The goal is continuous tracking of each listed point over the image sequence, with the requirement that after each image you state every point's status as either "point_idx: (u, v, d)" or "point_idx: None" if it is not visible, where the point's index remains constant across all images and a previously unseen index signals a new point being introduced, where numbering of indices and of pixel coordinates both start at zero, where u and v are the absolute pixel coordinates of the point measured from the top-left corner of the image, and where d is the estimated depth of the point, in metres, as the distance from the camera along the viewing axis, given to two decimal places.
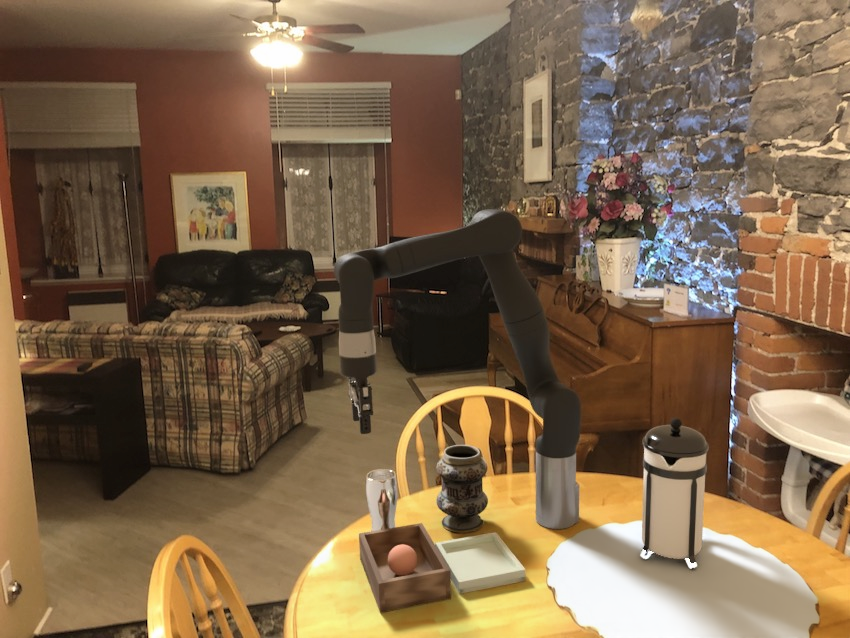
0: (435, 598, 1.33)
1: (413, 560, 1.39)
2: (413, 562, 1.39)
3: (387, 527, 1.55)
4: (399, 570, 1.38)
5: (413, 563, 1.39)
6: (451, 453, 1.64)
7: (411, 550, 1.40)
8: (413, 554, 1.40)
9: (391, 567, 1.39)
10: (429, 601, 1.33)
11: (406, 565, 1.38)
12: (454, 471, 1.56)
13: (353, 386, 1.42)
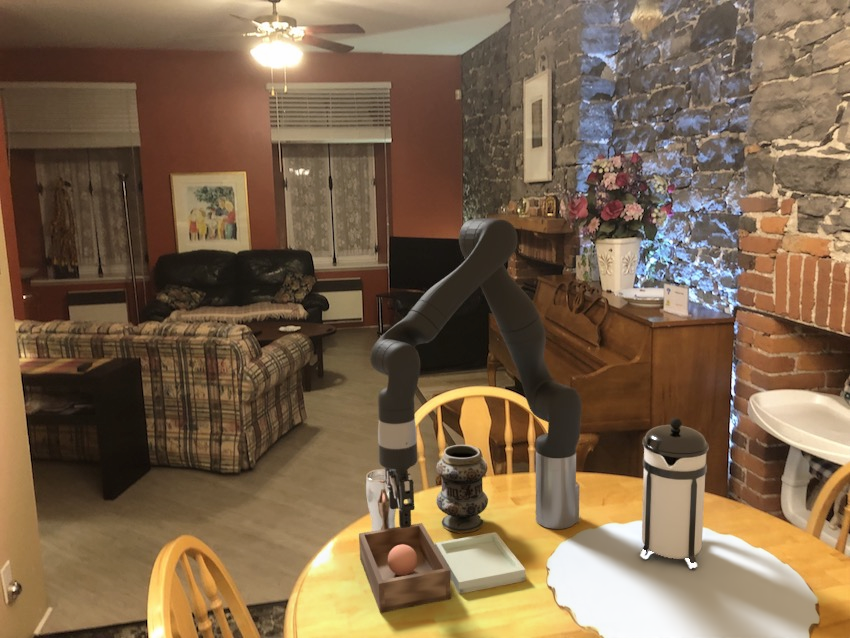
0: (435, 598, 1.33)
1: (413, 560, 1.39)
2: (413, 562, 1.39)
3: (387, 527, 1.55)
4: (399, 570, 1.38)
5: (413, 563, 1.39)
6: (451, 453, 1.64)
7: (411, 550, 1.40)
8: (413, 554, 1.40)
9: (391, 567, 1.39)
10: (429, 601, 1.33)
11: (406, 565, 1.38)
12: (454, 471, 1.56)
13: (392, 477, 1.35)
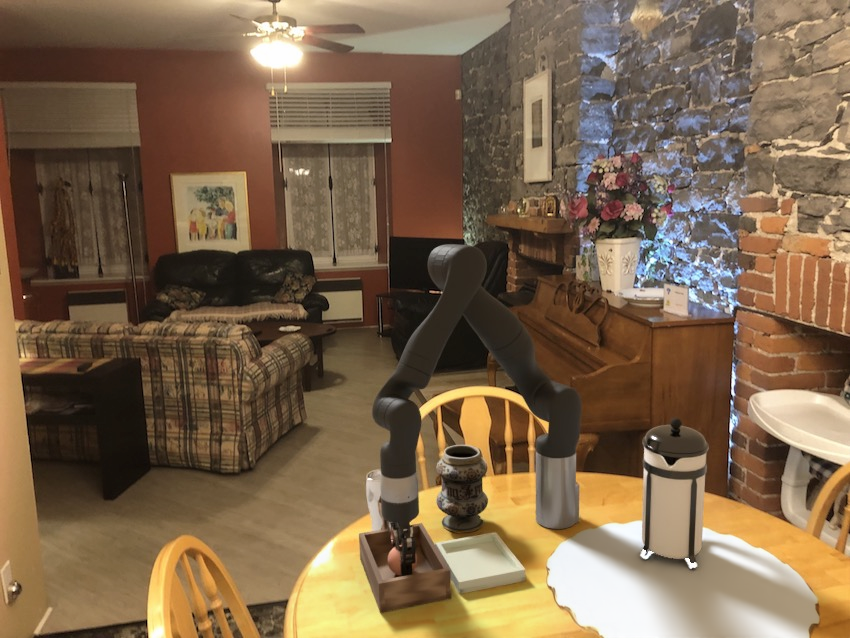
0: (435, 598, 1.33)
1: None
2: None
3: (387, 527, 1.55)
4: (399, 570, 1.38)
5: None
6: (451, 453, 1.64)
7: None
8: None
9: (391, 567, 1.39)
10: (429, 601, 1.33)
11: None
12: (454, 471, 1.56)
13: (395, 530, 1.37)
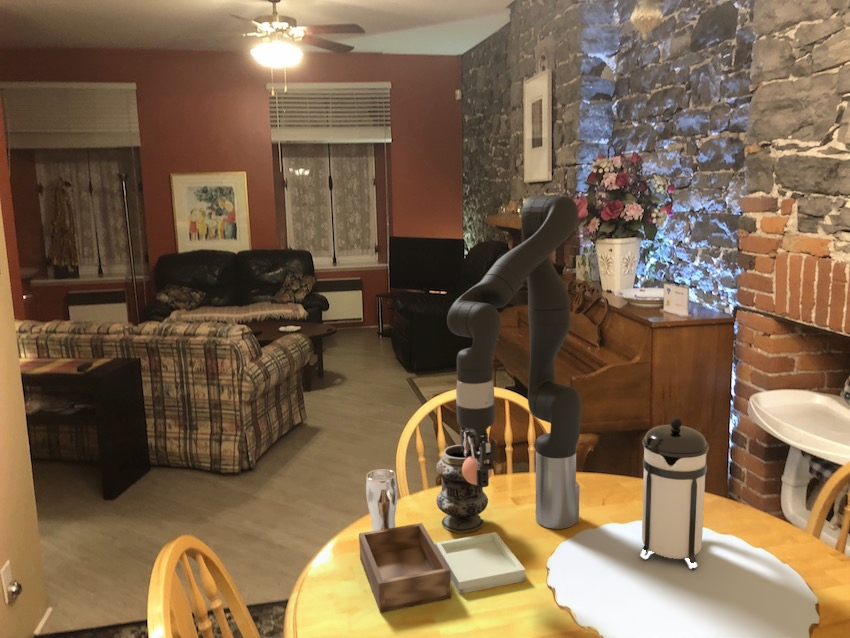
0: (435, 598, 1.33)
1: None
2: (488, 470, 1.39)
3: (387, 527, 1.55)
4: (474, 478, 1.38)
5: (488, 471, 1.39)
6: (451, 453, 1.64)
7: None
8: None
9: (466, 476, 1.39)
10: (429, 601, 1.33)
11: None
12: (454, 471, 1.56)
13: (471, 437, 1.37)
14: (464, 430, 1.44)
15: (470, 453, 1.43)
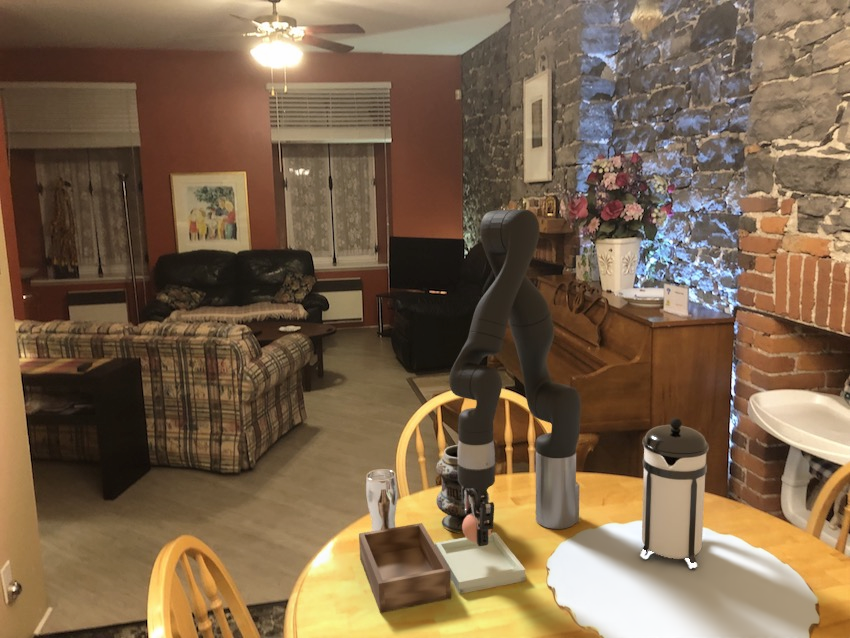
0: (435, 598, 1.33)
1: None
2: None
3: (387, 527, 1.55)
4: (474, 537, 1.40)
5: (488, 530, 1.41)
6: (451, 453, 1.64)
7: None
8: None
9: (466, 534, 1.41)
10: (429, 601, 1.33)
11: None
12: (454, 471, 1.56)
13: (472, 497, 1.40)
14: (465, 487, 1.46)
15: (470, 510, 1.45)
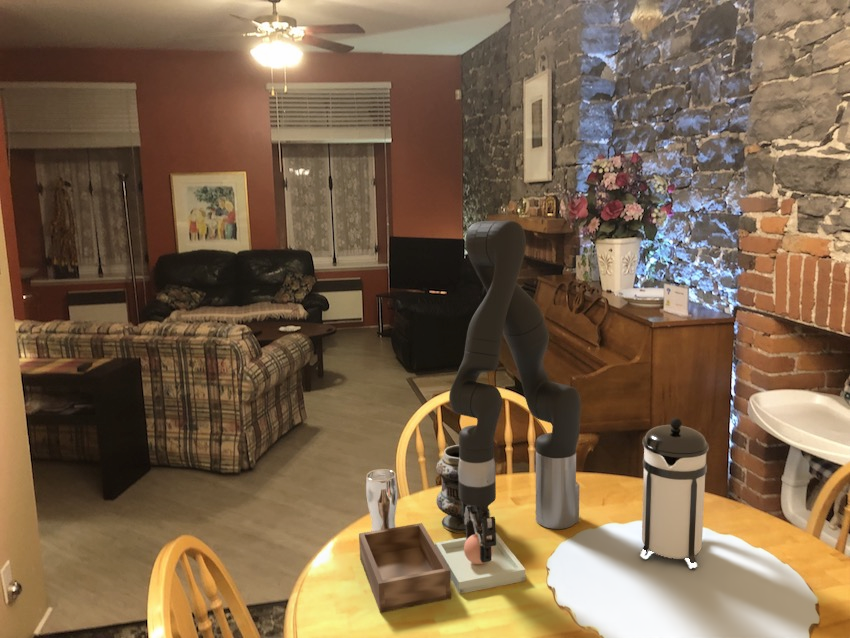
0: (435, 598, 1.33)
1: None
2: None
3: (387, 527, 1.55)
4: (476, 559, 1.41)
5: None
6: (451, 453, 1.64)
7: None
8: None
9: (468, 556, 1.42)
10: (429, 601, 1.33)
11: None
12: (454, 471, 1.56)
13: (473, 513, 1.40)
14: None
15: (470, 521, 1.47)
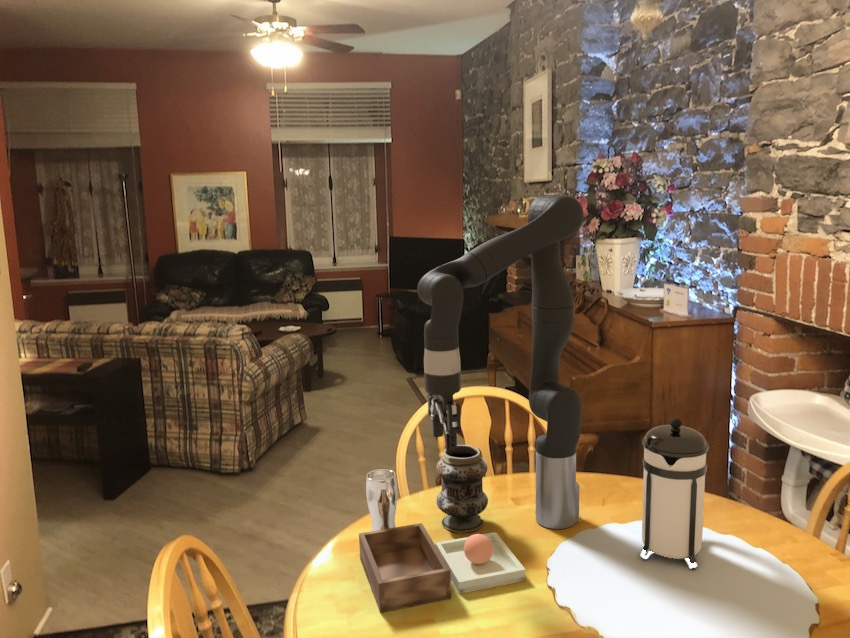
0: (435, 598, 1.33)
1: (490, 549, 1.42)
2: (490, 550, 1.42)
3: (387, 527, 1.55)
4: (476, 559, 1.41)
5: (489, 552, 1.42)
6: (451, 453, 1.64)
7: (487, 539, 1.43)
8: (489, 543, 1.43)
9: (468, 556, 1.42)
10: (429, 601, 1.33)
11: (484, 554, 1.41)
12: (454, 471, 1.56)
13: (438, 403, 1.43)
14: (432, 396, 1.50)
15: (436, 416, 1.50)
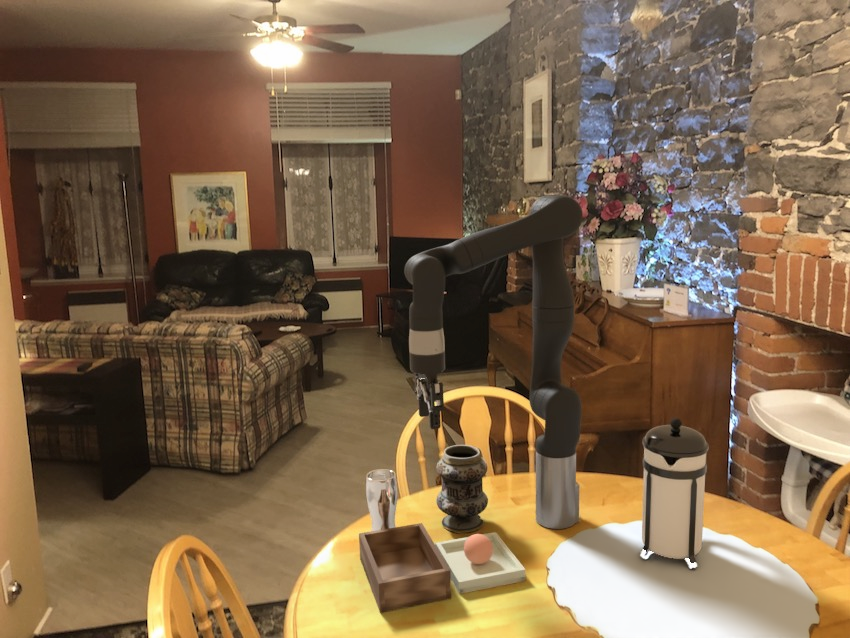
0: (435, 598, 1.33)
1: (490, 549, 1.42)
2: (490, 550, 1.42)
3: (387, 527, 1.55)
4: (476, 559, 1.41)
5: (489, 552, 1.42)
6: (451, 453, 1.64)
7: (487, 539, 1.43)
8: (489, 543, 1.43)
9: (468, 556, 1.42)
10: (429, 601, 1.33)
11: (484, 554, 1.41)
12: (454, 471, 1.56)
13: (423, 383, 1.46)
14: (418, 376, 1.53)
15: (422, 396, 1.53)
